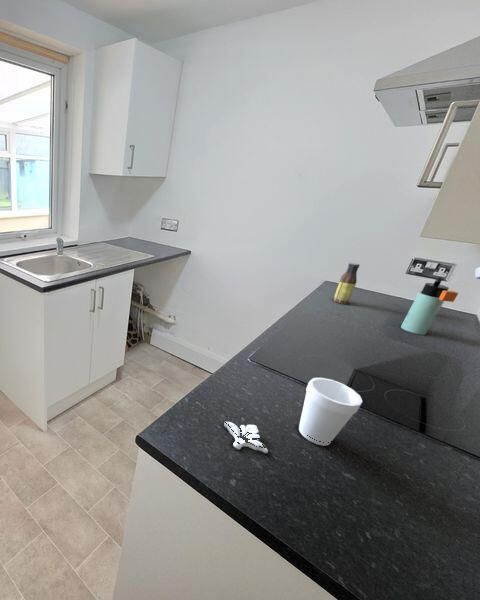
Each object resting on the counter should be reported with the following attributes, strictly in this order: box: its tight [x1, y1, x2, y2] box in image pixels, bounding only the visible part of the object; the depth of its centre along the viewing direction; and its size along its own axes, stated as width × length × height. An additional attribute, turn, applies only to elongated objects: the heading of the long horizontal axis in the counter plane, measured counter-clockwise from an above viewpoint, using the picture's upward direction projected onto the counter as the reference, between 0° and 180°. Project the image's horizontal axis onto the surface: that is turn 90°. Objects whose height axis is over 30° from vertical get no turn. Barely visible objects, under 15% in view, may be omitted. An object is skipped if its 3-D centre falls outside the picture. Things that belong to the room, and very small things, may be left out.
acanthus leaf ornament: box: [223, 421, 269, 454], centre depth 71 cm, size 8×7×2 cm
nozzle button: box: [439, 290, 459, 303], centre depth 118 cm, size 2×4×4 cm, turn 77°
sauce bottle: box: [333, 262, 361, 305], centre depth 153 cm, size 7×6×20 cm
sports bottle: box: [400, 276, 450, 336], centre depth 126 cm, size 8×8×23 cm
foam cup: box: [298, 377, 363, 446], centre depth 71 cm, size 10×9×13 cm
